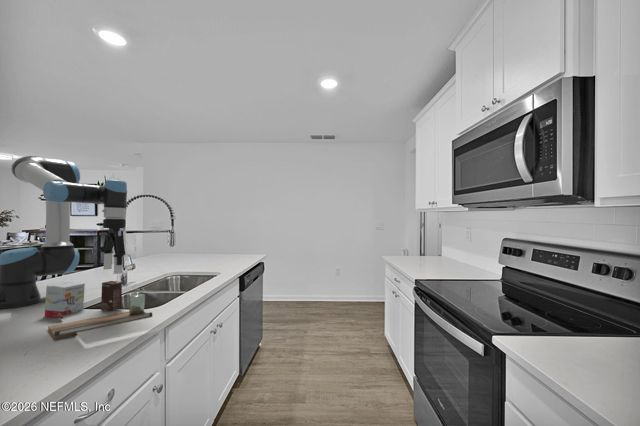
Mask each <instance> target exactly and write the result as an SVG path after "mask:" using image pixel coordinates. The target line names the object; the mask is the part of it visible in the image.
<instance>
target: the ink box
mask: <svg viewBox="0 0 640 426" xmlns="http://www.w3.org/2000/svg"><path fill="white" fill-rule="evenodd" d="M85 286H86V283H83V282H75V281H66V282H62V283H61V282H60V283H55V284H49V285H46V290H45V291H46V292H45V304H44V318H45V317H47V318H55V319H64V317H63V316H65V315H69V314H72V313H75V312H79V311H81V310H82V311H83V310H84V304H85V303H84V301H85Z"/></svg>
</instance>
